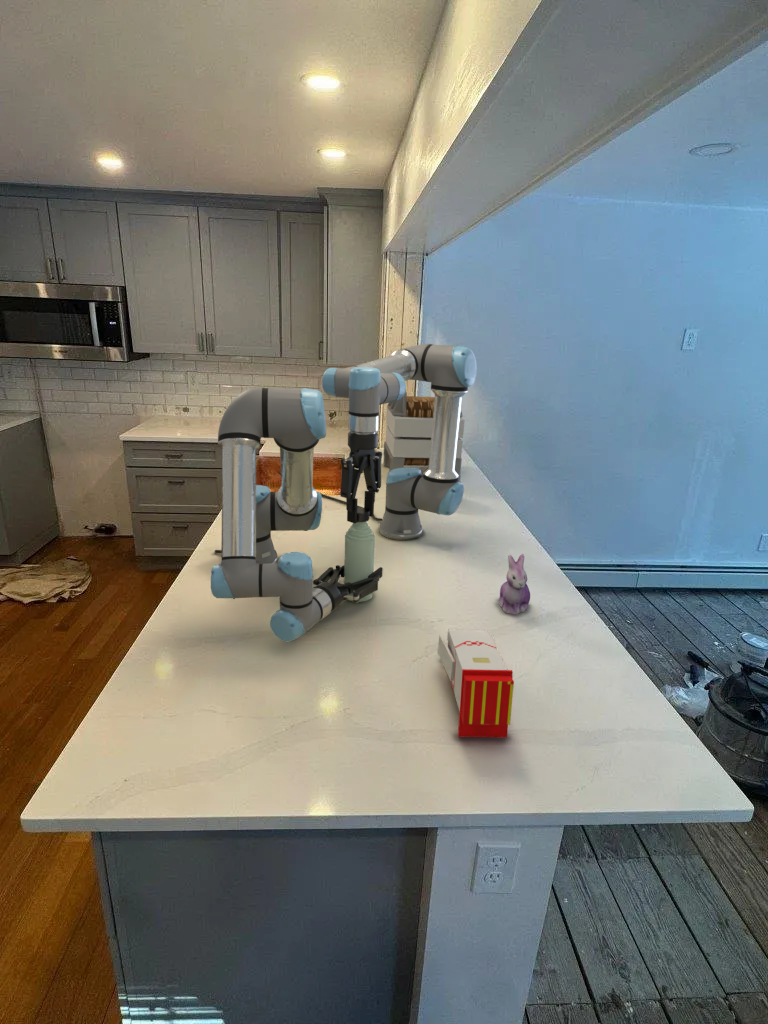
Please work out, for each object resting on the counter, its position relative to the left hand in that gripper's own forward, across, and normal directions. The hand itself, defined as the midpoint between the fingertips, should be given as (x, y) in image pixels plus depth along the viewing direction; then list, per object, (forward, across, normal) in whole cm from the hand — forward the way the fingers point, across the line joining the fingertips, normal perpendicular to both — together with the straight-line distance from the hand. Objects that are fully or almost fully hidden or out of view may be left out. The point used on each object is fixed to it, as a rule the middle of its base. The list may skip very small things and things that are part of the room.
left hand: (367, 568), depth 158 cm
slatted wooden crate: (+117, -40, -6) cm, 124 cm away
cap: (-5, 0, +18) cm, 19 cm away
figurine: (+13, +39, -6) cm, 41 cm away
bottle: (-5, 0, -6) cm, 8 cm away
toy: (-28, +42, -6) cm, 51 cm away
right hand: (-5, 0, +16) cm, 17 cm away
